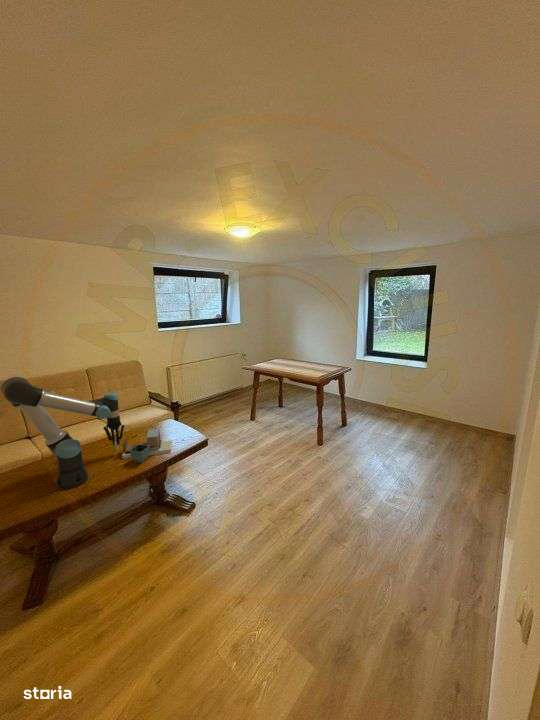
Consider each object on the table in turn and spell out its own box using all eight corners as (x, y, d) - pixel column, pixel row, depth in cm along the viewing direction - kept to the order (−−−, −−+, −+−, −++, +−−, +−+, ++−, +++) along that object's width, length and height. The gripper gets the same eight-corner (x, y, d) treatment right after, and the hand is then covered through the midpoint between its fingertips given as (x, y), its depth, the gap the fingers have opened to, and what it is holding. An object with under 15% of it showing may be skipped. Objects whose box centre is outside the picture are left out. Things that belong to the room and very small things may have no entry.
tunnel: (147, 451, 195) (146, 437, 193) (150, 443, 207) (148, 429, 205) (158, 450, 197) (157, 436, 195) (160, 441, 208) (159, 428, 206)
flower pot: (142, 465, 183) (141, 452, 181) (130, 463, 185) (128, 450, 183) (150, 458, 192) (149, 445, 190) (139, 456, 193) (137, 444, 192)
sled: (123, 452, 193) (122, 444, 192) (126, 447, 200) (125, 438, 199) (160, 448, 199) (159, 439, 198) (161, 442, 206) (160, 434, 205)
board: (122, 458, 190) (122, 455, 190) (126, 448, 204) (126, 445, 203) (170, 452, 198) (170, 449, 198) (171, 443, 212) (171, 439, 211)
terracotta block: (148, 447, 198) (148, 439, 196) (150, 443, 203) (149, 435, 202) (158, 446, 199) (157, 437, 198) (159, 442, 205) (158, 434, 204)
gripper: (100, 419, 185) (104, 453, 190) (122, 417, 189) (126, 450, 193) (103, 414, 192) (107, 447, 197) (125, 412, 196) (128, 445, 200)
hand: (116, 449), depth 195 cm, fingers closed
